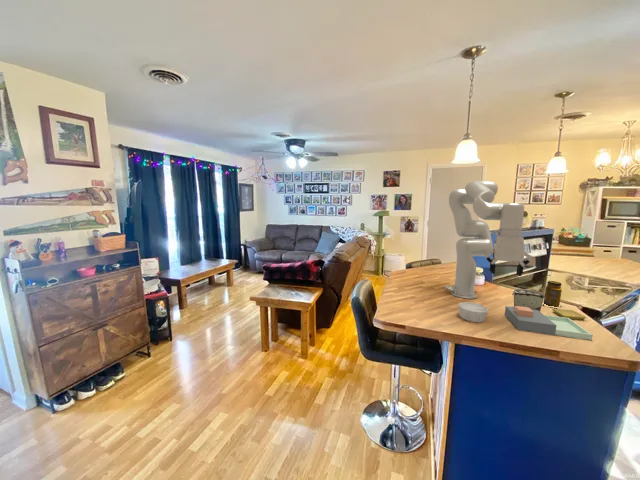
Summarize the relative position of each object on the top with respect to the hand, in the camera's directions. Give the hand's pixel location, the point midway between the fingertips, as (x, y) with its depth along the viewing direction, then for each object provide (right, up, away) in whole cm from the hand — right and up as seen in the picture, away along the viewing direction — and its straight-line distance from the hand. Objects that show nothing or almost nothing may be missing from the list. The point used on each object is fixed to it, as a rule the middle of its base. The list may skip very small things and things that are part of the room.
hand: (505, 274), depth 111 cm
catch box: (+20, -21, -4) cm, 29 cm away
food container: (+18, -19, +13) cm, 29 cm away
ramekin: (-12, -20, +4) cm, 24 cm away
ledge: (+9, -21, -1) cm, 23 cm away
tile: (+7, -17, -1) cm, 18 cm away
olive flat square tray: (+34, -21, +9) cm, 41 cm away
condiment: (+38, -19, +22) cm, 48 cm away
